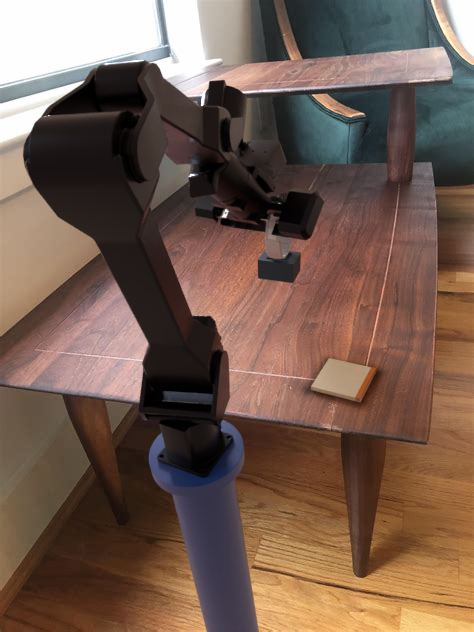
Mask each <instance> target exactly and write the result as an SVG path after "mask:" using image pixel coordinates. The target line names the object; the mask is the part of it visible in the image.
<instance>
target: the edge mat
mask: <svg viewBox="0 0 474 632" xmlns="http://www.w3.org/2000/svg"><path fill="white" fill-rule="evenodd" d="M376 373H377V368H376V367H373V366H367V365H362V364H358V363H354V362H348V361H345V360H340V359H335V358H331V357H329V358H328V359H327V361H326V362H325V363H324V366H323V367H322V368H321V370H320V372H319V373H318V375H317V376H316V378H315V379H314V381H313V383H312V384H311V386H310V390H311V391H314V392H317V393H322V394H324V395H329V396H333V397H337V398H341V399H344V400H348V401H349V400H350V401H352V402H357V403H361V402H362V400H363V398H364V397H365V395H366V393H367V391H368V389H369V387H370V385H371V383H372V381H373V379H374V377H375V375H376Z"/></svg>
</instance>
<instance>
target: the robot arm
mask: <svg viewBox="0 0 474 632" xmlns="http://www.w3.org/2000/svg"><path fill="white" fill-rule="evenodd" d="M201 96H202V97H201V104H197V103H196V102H195V101H193V100H192V99H191V98H190V97H188V96H187V95H186V94H185V93H183V92H182V91H181V90H180V89H179V88H178V87H176V86H175V85H174V84H173V83H171V82H170V81H169V80H167V79H166V78H165V77H164V75H163V74H162V71H161V68H160V66H159V65H158V64H157V63H155V62H149V61H148V60H145V59H139V60H138V59H137V60H127V61H117V62H107V63H101V64H99V65H98V66H97V67H94V68H92V69H91V70H89V73H88V74H87V76H86V77H85V79H84V81H83V82H82V83H81V84H79V85H78V86H76V87H75V88H74V89H71V91H69V92H67V93H66V94H64V95H63V96H62V97H60V98H59V99H57V100H55V101H54V102H52V103H51V104H50V105H48V106H47V107H46V108H45V110H44V112H43V113H42V114H41V116H40V117H39V118H37V120H36V121H35V122H34V124H33V125H32V128H31V130H30V132H29V134H28V135H27V137H26V139H25V141H24V143H23V146H22V147H23V148H22V159H23V165H24V169H25V171H26V173H27V175H28V178H29V180H30V181H31V184H32V186H33V187H34V188H35V190H36V191H37V193H38V194H39V195H40V196H41V198H42V199H43V201H45V203H46V204H47V205H48V206H49V208H50V209H51V211H52V212H53V213H54V215H56V217H58V219H60V220H61V221H64V222H65V223H66V224H68V225H69V226H71V227H73V228H75V229H76V230H78V231H80V232H81V233H83V234H84V235H86V236H87V237H89V238H91V239H92V240H93V241H94V243H95V246H96V247H97V249H98V251H99V253H100V254H101V256H102V258H103V260H104V262H105V264H106V267H108V270H109V271H110V273H111V275H112V277H113V279H114V281H115V282H116V284H117V286H118V288H119V290H120V292H121V294H122V297H123V298H124V300H125V301H126V303H127V305H128V308H129V309H130V311H131V313H132V315H133V317H134V319H135V320H136V323H137V324H138V327H139V328H140V330H141V332H142V334H143V336H144V338H145V339H146V342H147V346H146V350H145V352H144V356H143V359H142V362H141V366H142V376H141V383H140V392H139V393H140V394H139V402H138V410H137V411H138V413H139V416H140V417H141V418H142V420H143V421H147V422H149V421H158V425H159V428H160V434H161V433H162V437H163V441H164V445H165V447H164V449H163V450H162V451H161V452H160V453H159V455H158V456H157V459H158V461H159V462H161V463H163V464H166V465H169V466H171V467H174V468H177V469H179V470H182V471H185V472H187V473H190V474H193V475H196V476H198V477H201V478H205V477H207V476H208V475H209V473H210V472H211V471H212V469H213V468H214V466H215V465H216V464H217V462H218V461H219V460H220V458H221V457H222V455H223V454H224V453H225V451H226V450H227V448H228V447H229V446H230V444H231V443H232V442H233V436H232V435H231V434H228V433H225V432H222V431H221V428H222V427H221V422H222V420H224V416H225V414H226V410H227V407H228V404H229V401H230V399H231V394H230V393H231V388H230V387H231V386H230V382H231V381H230V358H229V354H228V351H227V350H225V348H224V345H223V343H222V336H221V335H220V332H219V329H218V325H217V322H216V319H214V318H213V317H212V316H211V315H201V314H198V315H197V314H196V315H195V314H193V313H192V311H191V309H190V306H189V304H188V301H187V299H186V296H185V293H184V290H183V288H182V286H181V283H180V281H179V278H178V275H177V273H176V270H175V267H174V266H173V262H172V260H171V257H170V255H169V253H168V250H167V247H166V245H165V242H164V239H163V237H162V234H161V232H160V229H159V226H158V224H157V222H156V219H155V217H154V213H153V211H152V208H151V206H152V202H153V198H154V195H155V192H156V189H157V187H158V183H159V181H160V177H161V173H160V166H161V164H162V161H163V159H164V156H166V157H167V158H168V159H169V160H171V161H172V162H173V164H175V165H176V166H177V165H178V166H179V165H189V167H188V177H187V179H188V194H189V198H190V199H192V200H194V199H196V202H195V205H194V207H193V209H194V215H195V217H196V218H197V219H199V220H200V221H201V222H203V223H209V224H214V225H217V223H219V224H220V226H223V227H228V228H232V229H239V230H246V231H253V232H260V233H261V232H262V233H265V232H266V222H267V221H268V220H269V219H270V217H271V214H274V215H273V217H274V218H275V219H277V220H276V221H275V222H276V223H275V225H274V228H273V231H272V233H271V235H275V236H280V237H281V238H282V237H286V238H289V237H290V238H293V239H296V240H301V241H307V240H309V239H311V238H312V237H313V234H314V231H315V228H316V226H317V223H318V220H319V217H320V215H321V212H322V209H323V206H324V204H325V200H324V198H323V196H322V195H321V194H320V193H319V191H318V190H314V189H307V188H306V189H305V188H298V187H293V188H291V189H290V190H289V191H288V192H281V193H280V194H279V195H271V193H275V191H276V188H277V186H278V183H277V182H276V181H275V180H274V179H275V178H276V177H277V175H278V174H279V173H280V171H281V170H282V168H283V167H285V166H286V164H287V159H286V156H285V153H284V150H283V147H282V145H281V142H280V141H279V140H273V139H259V138H258V139H254V140H247V141H244V136H245V127H246V117H247V106H248V97H247V95H246V94H245V93H243V91H242V90H240V89H239V88H237V87H234V86H232V85H227V82H226V80H225V79H218V80H217V79H215V80H209V81H208V87H207V88H206V89H205V90H204V91H203V93H202V95H201ZM279 203H280V204H279ZM228 438H230V439H228ZM162 457H163V458H162ZM204 472H205V473H204Z"/></svg>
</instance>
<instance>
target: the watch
mask: <svg viewBox="0 0 474 632" xmlns="http://www.w3.org/2000/svg"><path fill="white" fill-rule="evenodd" d="M279 204H280V203H279ZM273 215H274V214H271V217H270V219H269V220H268V221H266V232H264V237H265V238H264V239H265V240H264V246H265V249H264V250H263V252H262V253H261V255H260V256H259V257H258V259H257V280H258V279H260V280H267V281H272V282H273V281H274V282H281V283H289V284H294V283H295V281H296V279H297V278H298V276H299V274H300V272H301V261H302V260H301V258H302V256H301V255H302V254H301V253H302V252H301V251H296V250H295V251H293V250H291V247H292V242H293V239H294V238H290V237H289V238H286V237H280V236H275V235H271V233H272V231H273V228H274V225H275V223H276V222H275V221H276V220H277V219H275V218H274V217H273Z"/></svg>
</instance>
